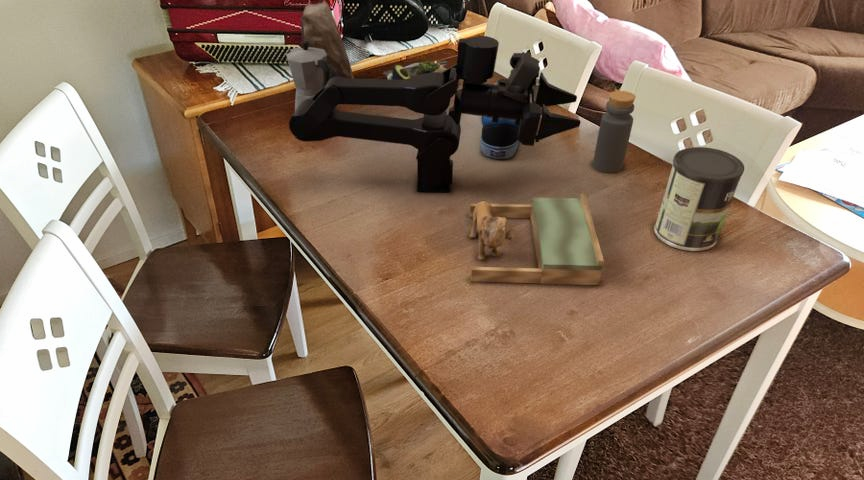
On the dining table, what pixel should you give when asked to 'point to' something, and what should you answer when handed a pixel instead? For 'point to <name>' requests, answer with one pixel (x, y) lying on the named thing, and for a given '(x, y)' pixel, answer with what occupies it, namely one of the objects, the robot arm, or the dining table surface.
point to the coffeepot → (308, 71)
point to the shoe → (499, 137)
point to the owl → (326, 38)
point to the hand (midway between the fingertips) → (578, 110)
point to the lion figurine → (490, 229)
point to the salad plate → (415, 70)
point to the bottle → (614, 132)
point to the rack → (552, 243)
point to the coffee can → (697, 198)
